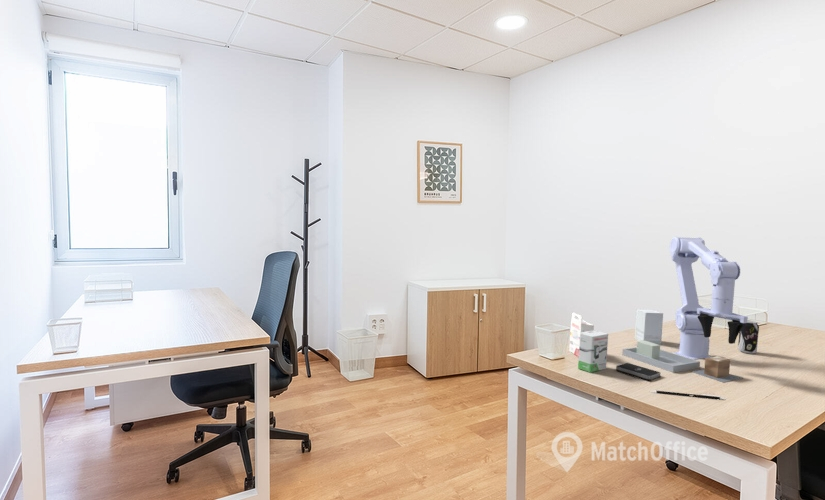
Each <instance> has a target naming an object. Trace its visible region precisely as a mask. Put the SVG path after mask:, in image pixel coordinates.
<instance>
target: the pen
mask: <svg viewBox="0 0 825 500" xmlns="http://www.w3.org/2000/svg"><path fill="white" fill-rule="evenodd" d="M649 393H653V394H659V395H670V396H678V397H679V396H681V397H690V398H697V399H699V398H700V399H701V398H702V399H707V398H708V399H709V400H710V399H711V400H717V399H719V400H720V401H722V400H723V401H726V400H727V398H725V397H724V398H723V397H721V396H720V395H711V394H702V393H701V394H692V393H682V392H676V391H675V392H673V391H663V390H650V391H649ZM719 400H718V401H719Z"/></svg>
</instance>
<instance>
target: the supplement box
mask: <svg viewBox="0 0 825 500" xmlns="http://www.w3.org/2000/svg"><path fill="white" fill-rule="evenodd" d="M635 313H636V314H635V326H634V339H635V340H636V341H637V342H638V341H648V342H651V343H655V344H658V345H662V338H663V337H662V335H663V322H664V313H663V312H661V311H658V310H655V309H641V308H640V309H636V312H635Z"/></svg>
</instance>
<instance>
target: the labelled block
mask: <svg viewBox="0 0 825 500" xmlns="http://www.w3.org/2000/svg"><path fill="white" fill-rule="evenodd" d="M704 359H705V360H704V368H703V369H704V374H706V375H709V376H713V377H716V378H720V377H725V376H729V374H730V367H731V360H730V359H727V358H724V357H720V356H717V355H716V356H711V357H710V358H704Z"/></svg>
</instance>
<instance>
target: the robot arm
mask: <svg viewBox="0 0 825 500" xmlns="http://www.w3.org/2000/svg"><path fill="white" fill-rule="evenodd" d="M670 240H671V241H670V242H669V243H670V244H669V253H670V257H671V261H672V262H674V264H675V269H676V275H677V280H678V286H679V291H680V297H681V304H682V306H681V307H679V308H678V309H677V310H675V325H676V327H677V329H678V331H680V334H679V336H680V337H679V349H678V351H674V352H673V354H677V355H680V356H683V357H686V358H690V359H693V360H696V361H697V360H701V359H705V358H710V357H712V356H711V355H709V353H710V338H711V336H712V335H711V334H712V325H713V322H714V319H715V318H719V319H723V320H728V321H727V328H728V338H727V339H728V340H727V341H728V342H727V343H728V344H735V343H736V340H737V338H738V337H739V332H740V331H741V329H742V328H743V327H744V326H745V323H747V320H749V318H748V317H749V316H745V315H741V314H737V313H734V312H733V310H734V309H733V308H734V298H735V297H734V296H735V287H736V286H735V285H736V284H735V283H736V281H737V280H738V279H739V277H740V276H741V267H740V265H739V263H738V262H737V261H729V260H728V259H726V257H724V256H723V255H721V254H720V253H719V251H718V250H710V249H709V248H708V247H707V246H706V243H705V239H703V238H701V237H682V236H680V237H679V236H674V237H672V239H670ZM699 259H701V260H700V262H701V264H702V265H703V266H704V267H706V268H707V269H708V270H709V275H710V279H711V280H710V281H711V282H710V283H711V284H712V292H711V303H710V305H711V306H710V308H704V307H703V306H702V305H700V304H699V297H698V294H697V287H696V282H695V281H696V280H695V277H694V272H693V271H694V270H693V266H692V264H693V263H695V262H697V261H698V260H699Z"/></svg>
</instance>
